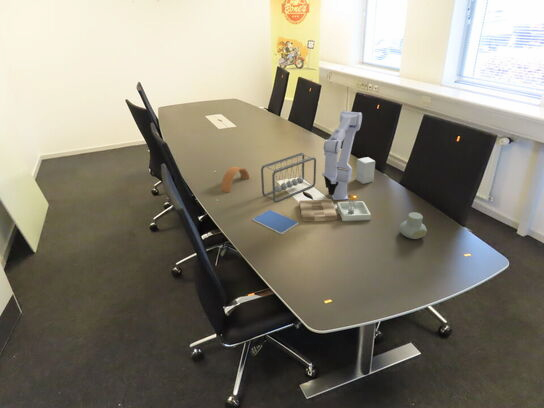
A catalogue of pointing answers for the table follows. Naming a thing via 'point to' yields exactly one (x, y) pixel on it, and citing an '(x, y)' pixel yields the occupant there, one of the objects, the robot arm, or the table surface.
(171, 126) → the table surface
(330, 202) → the pin plate
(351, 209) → the pin
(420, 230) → the air freshener
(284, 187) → the newton's cradle
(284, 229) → the tablet computer
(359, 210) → the tray
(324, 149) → the robot arm
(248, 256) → the table surface
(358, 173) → the supplement box
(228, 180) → the arch
